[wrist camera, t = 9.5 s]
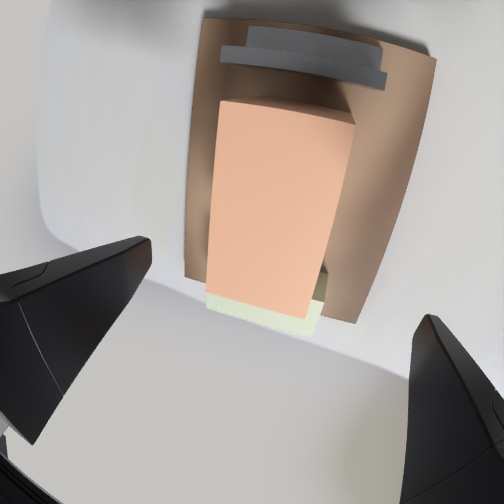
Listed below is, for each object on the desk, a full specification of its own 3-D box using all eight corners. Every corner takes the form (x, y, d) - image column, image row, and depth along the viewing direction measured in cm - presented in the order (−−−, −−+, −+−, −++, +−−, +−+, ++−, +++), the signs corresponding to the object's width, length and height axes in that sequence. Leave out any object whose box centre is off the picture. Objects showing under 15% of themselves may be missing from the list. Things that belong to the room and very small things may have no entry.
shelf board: (431, 60, 13) (436, 58, 12) (355, 314, 22) (355, 323, 21) (209, 20, 15) (202, 18, 14) (190, 269, 24) (184, 276, 24)
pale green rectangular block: (328, 273, 20) (324, 302, 18) (317, 308, 22) (311, 338, 19) (225, 247, 21) (208, 270, 19) (222, 282, 23) (206, 308, 20)
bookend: (382, 49, 13) (393, 38, 9) (375, 90, 14) (384, 90, 11) (252, 27, 14) (226, 12, 11) (246, 66, 15) (219, 62, 12)
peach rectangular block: (351, 113, 15) (356, 125, 10) (318, 256, 20) (304, 319, 15) (260, 95, 16) (220, 100, 11) (242, 237, 21) (205, 291, 16)
